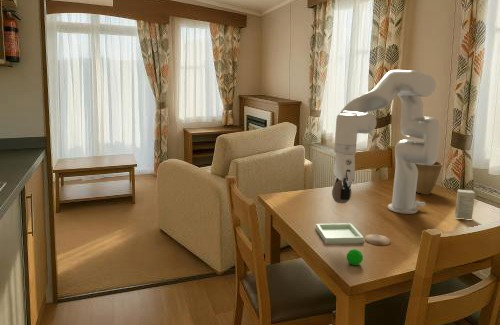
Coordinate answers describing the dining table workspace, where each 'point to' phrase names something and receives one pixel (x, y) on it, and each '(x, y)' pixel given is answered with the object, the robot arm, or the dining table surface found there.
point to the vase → (338, 192)
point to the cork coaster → (377, 239)
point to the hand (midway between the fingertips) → (341, 195)
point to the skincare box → (464, 204)
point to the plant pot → (427, 177)
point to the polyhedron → (354, 257)
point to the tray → (339, 233)
